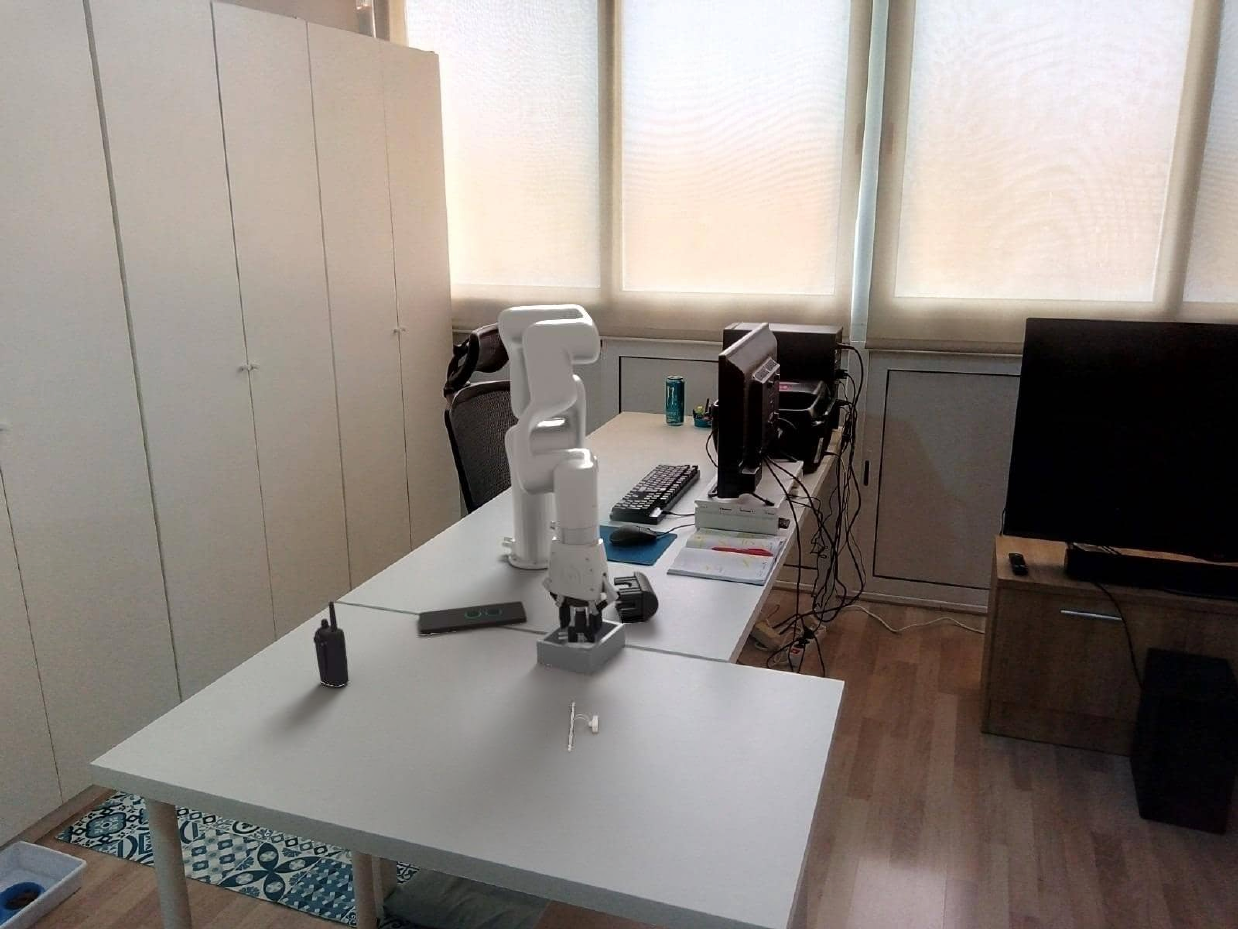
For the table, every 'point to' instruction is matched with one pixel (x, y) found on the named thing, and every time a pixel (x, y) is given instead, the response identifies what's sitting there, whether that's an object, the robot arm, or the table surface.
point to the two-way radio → (331, 651)
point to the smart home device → (472, 617)
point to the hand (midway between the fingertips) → (580, 628)
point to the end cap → (635, 599)
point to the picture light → (593, 724)
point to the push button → (578, 622)
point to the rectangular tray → (581, 648)
